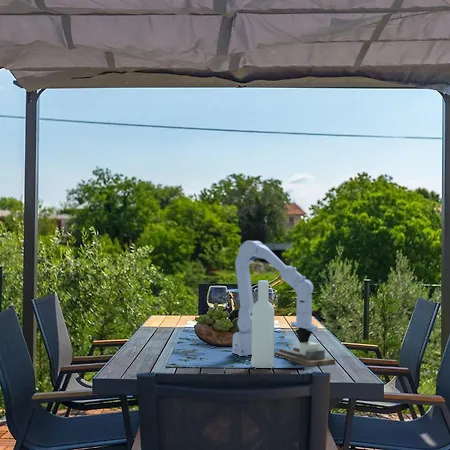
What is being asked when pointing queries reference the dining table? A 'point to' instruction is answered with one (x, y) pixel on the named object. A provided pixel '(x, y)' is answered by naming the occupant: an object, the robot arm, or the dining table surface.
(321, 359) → the rail board
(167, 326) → the dining table surface
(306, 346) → the pale grey cube
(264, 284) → the bottle
